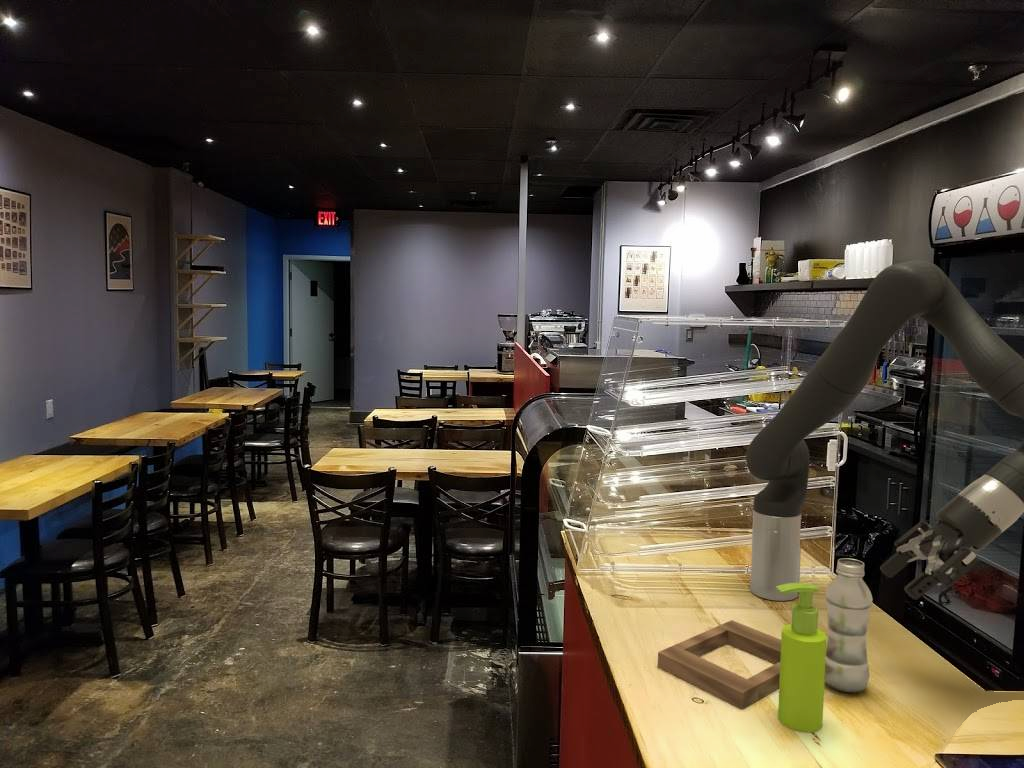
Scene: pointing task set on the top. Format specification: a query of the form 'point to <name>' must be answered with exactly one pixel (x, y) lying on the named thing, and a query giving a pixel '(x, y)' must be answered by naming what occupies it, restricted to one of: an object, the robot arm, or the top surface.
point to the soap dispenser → (802, 663)
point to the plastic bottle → (847, 627)
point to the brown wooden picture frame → (717, 679)
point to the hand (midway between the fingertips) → (896, 583)
